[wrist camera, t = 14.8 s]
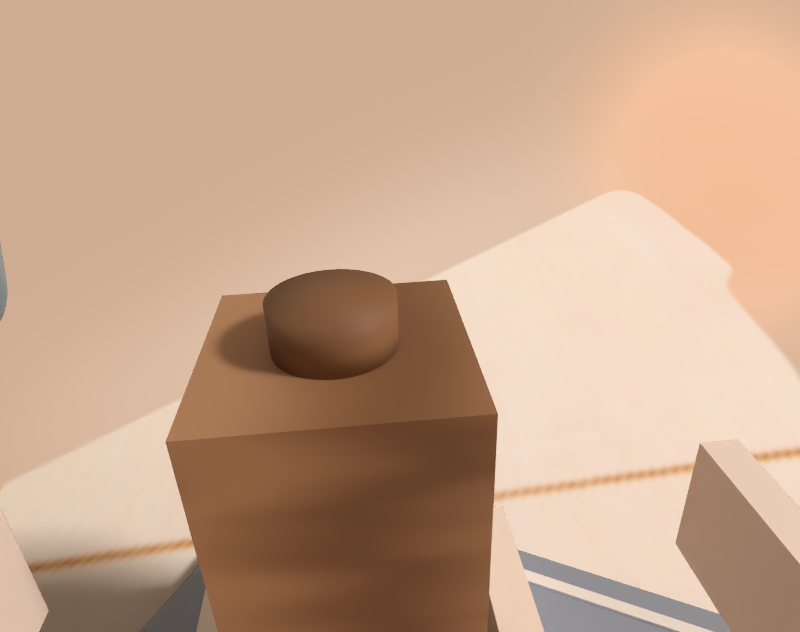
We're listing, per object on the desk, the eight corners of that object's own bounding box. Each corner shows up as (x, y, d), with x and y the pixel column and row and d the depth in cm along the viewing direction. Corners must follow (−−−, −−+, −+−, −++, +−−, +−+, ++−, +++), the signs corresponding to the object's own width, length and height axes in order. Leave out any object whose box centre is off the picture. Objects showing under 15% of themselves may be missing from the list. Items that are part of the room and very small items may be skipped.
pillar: (273, 834, 15) (149, 385, 9) (288, 640, 19) (214, 253, 13) (478, 809, 15) (500, 358, 9) (446, 623, 19) (446, 238, 13)
